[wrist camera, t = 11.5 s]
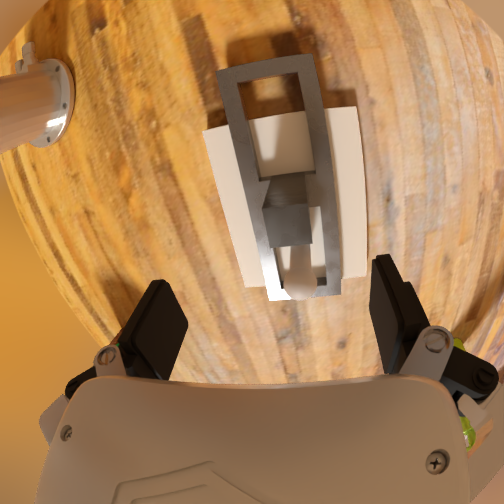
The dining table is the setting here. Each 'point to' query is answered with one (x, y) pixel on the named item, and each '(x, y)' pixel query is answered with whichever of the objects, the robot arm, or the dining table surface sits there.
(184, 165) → the dining table surface
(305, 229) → the grey frame with handle
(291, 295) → the white pegged base
